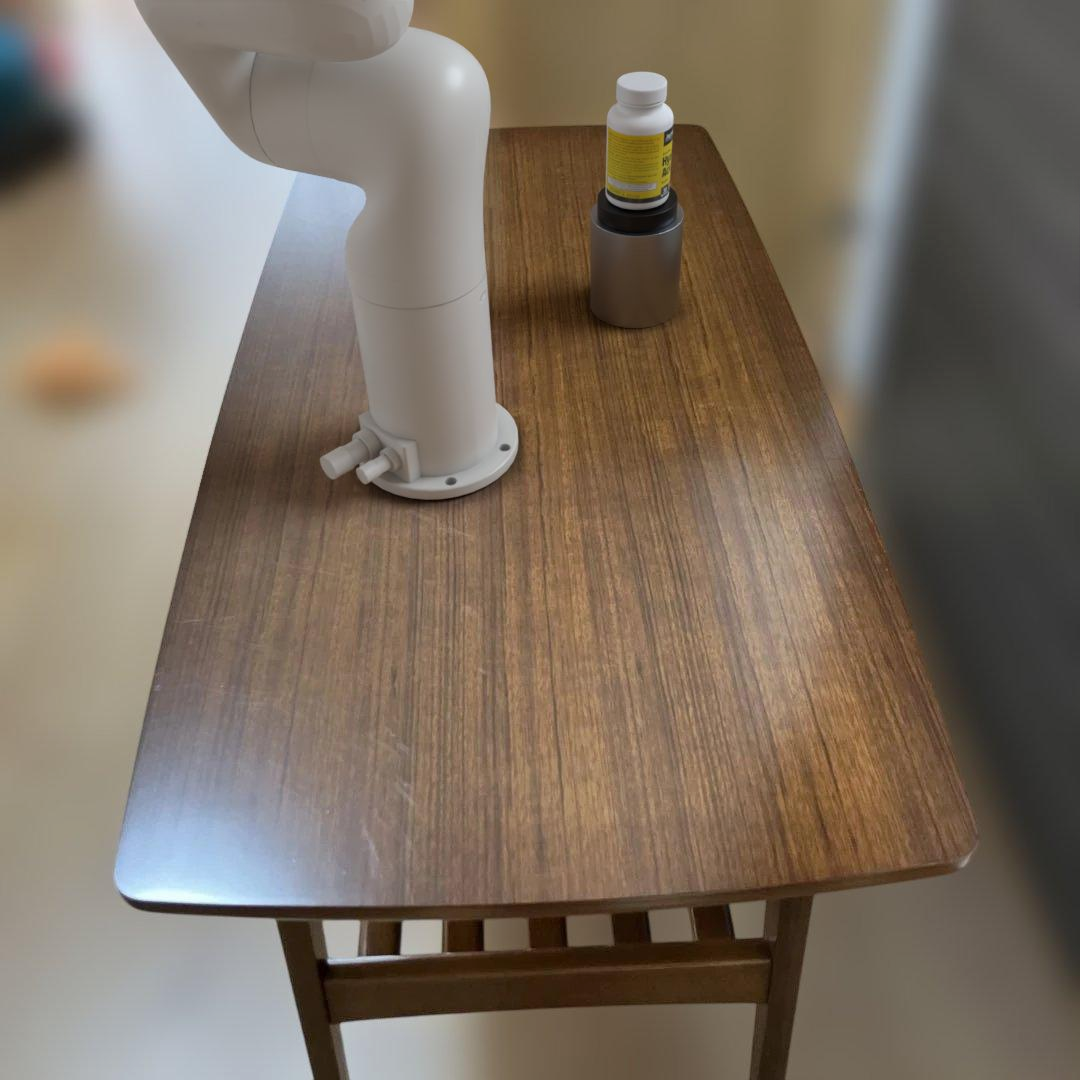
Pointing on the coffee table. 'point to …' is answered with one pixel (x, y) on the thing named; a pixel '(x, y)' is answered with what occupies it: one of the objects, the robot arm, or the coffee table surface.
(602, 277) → the canister
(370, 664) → the coffee table surface
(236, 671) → the coffee table surface
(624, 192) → the supplement bottle
